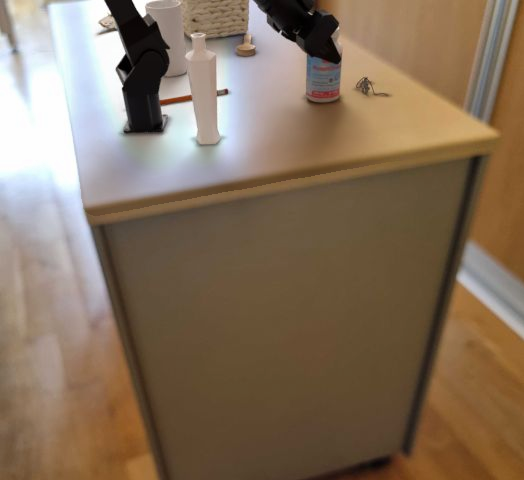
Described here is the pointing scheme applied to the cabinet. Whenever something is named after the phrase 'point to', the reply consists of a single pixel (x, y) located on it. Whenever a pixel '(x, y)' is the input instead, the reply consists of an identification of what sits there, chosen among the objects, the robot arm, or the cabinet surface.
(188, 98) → the pencil
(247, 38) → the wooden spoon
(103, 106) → the cabinet surface
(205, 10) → the basket
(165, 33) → the mug
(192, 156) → the cabinet surface
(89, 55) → the cabinet surface
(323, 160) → the cabinet surface
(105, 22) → the butterfly
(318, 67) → the pill bottle
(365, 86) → the pendant
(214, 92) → the perfume bottle
